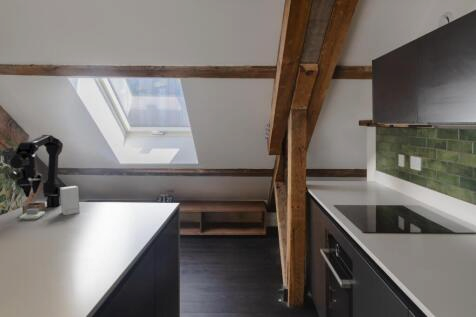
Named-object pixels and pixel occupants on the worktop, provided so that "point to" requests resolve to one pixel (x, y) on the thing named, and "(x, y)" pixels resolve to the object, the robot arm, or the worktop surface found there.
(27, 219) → the mat
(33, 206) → the box
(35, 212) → the lid
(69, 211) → the skincare box
